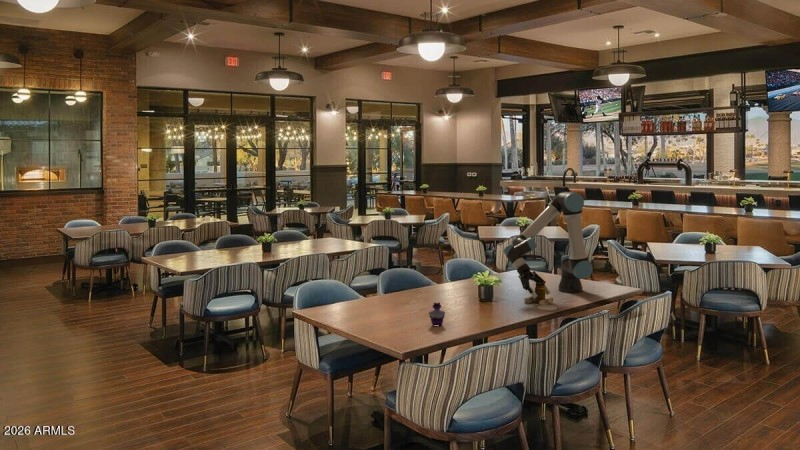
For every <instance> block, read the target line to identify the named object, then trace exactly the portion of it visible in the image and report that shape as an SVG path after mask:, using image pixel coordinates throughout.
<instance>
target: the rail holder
mask: <svg viewBox="0 0 800 450" xmlns="http://www.w3.org/2000/svg"><path fill="white" fill-rule="evenodd" d="M523 299H524V304H529V303H530V302H535V299H534V298H533V296H532V295H531V296H528V297H524V298H523ZM530 304H531V303H530ZM552 304H554V298H553V297H549V298H545V300H541V301H539V305H552ZM539 305H538V306H539Z"/></svg>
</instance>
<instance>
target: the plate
mask: <svg viewBox="0 0 800 450" xmlns="http://www.w3.org/2000/svg"><path fill="white" fill-rule="evenodd" d="M537 310H540V311H556V310H558V306H556V305H553V304H548V305H537Z"/></svg>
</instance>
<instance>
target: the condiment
mask: <svg viewBox="0 0 800 450" xmlns="http://www.w3.org/2000/svg"><path fill="white" fill-rule="evenodd" d="M545 286H546V283H545V284H544V283H536V282H535V286H534V291H535V293H536V294H537V297H536V298H535V301H534V302H530V304H532V305H537V306H539V301H541V300H545V299H546V293H545Z"/></svg>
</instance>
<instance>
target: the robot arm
mask: <svg viewBox="0 0 800 450" xmlns="http://www.w3.org/2000/svg"><path fill="white" fill-rule="evenodd" d="M584 206H585V200H584V198H583V196H582V195H581V194H580V193H578V192H574V191H561V192H560V193H558V194H557V195H556V196H555V197H553V199H552V200H550V202H549V203H548V204H547V207H546V208H545V209H544V210H543V211H542V212H541V213H539V215H538V216H537V217H536V218H535V219H534V220H533V221H532V222H531V223H530V224H529V225H528V227H526V228H525V229H524V230H523V232H521V233H520V234H519V236H517V237H514V238H513V239H512V241H511V244H508V245H506V246H505V247H504V249H503V251H502V252H503V254H504V255H505V257H506V258H507V259H508V261H509V263H510V264H511V265H512V267H513V268H514V269H515V271H516V272H517V274H518V278H519V280H520V283H521V285H522V288H523V290H525V291H528V293H529V294H530V295H531V297H532V296H533V298H534V299H535V298H536V297H537V294H536V293H535V289H533V287H532V286H531V285H530V281H532V282H533V281H534V283H535V284H536V283H544V284H545V296H549V295H550V294H551V291H550V289H548V287H547V285H546V283H547V282H546V280H544V279H543V278H542V277H541V275H539V274H537V272H536V271H535V270H533V271H531V267H530V266H529V264H528V263H527V261H526V260H525V259H524V258H523V256H525V255H527V254H529V253H531V252H532V251H534V250H535V249H536V248H537V246H538V245H537V242H536V240H535V239H534V238H536V236H537V235H538V234H539V233H541V232H542V230H543V229H544V228H545V227H547V225H549V223H550V222H551V221H553V219H554V218H555V217H556V216H557V215H561V213H562V215H563V217H565V219H566V228H567V234H568V241H569V249H570V250H569V251H570V255H569V254H568V255H562V256H561V260H560V264H561V265H560V267H561V269H560V271H561V273H560V277H561V278H560V281H559V284H558V291H559V292H564V293H581V292H583V290H584V289H583V284H582V281H581V280H584V279H588V278H589V277H590V276H591V274H592V273H593V265H592V263H591V262H590V261H589V260H590V259H589V255H587V254H586V249H585V242H584V236H583V235H584V234H583V227H582V219H581V215H582V214H583V208H584Z"/></svg>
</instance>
